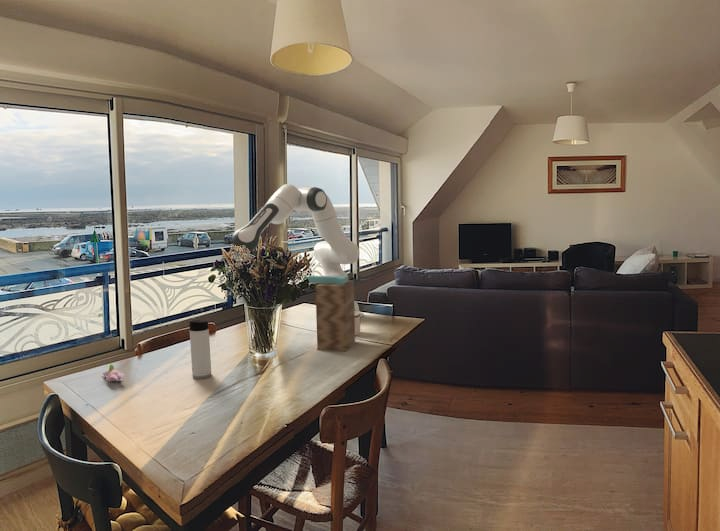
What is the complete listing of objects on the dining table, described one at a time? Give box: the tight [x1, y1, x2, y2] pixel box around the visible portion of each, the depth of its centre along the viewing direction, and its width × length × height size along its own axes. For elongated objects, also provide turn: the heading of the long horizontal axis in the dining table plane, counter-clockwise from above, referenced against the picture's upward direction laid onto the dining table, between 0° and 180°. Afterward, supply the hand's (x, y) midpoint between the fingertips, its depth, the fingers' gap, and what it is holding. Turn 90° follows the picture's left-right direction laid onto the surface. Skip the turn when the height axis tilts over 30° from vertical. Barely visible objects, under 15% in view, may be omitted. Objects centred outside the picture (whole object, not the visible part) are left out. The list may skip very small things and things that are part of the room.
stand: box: [315, 279, 356, 352], centre depth 209 cm, size 12×14×26 cm
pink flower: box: [101, 363, 125, 382], centre depth 174 cm, size 6×6×15 cm
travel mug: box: [188, 319, 212, 380], centre depth 176 cm, size 6×7×20 cm
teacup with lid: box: [354, 310, 361, 336], centre depth 228 cm, size 12×9×12 cm
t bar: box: [303, 275, 349, 285], centre depth 208 cm, size 18×8×2 cm, turn 77°
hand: (300, 272), depth 209 cm, fingers open, 8 cm apart
